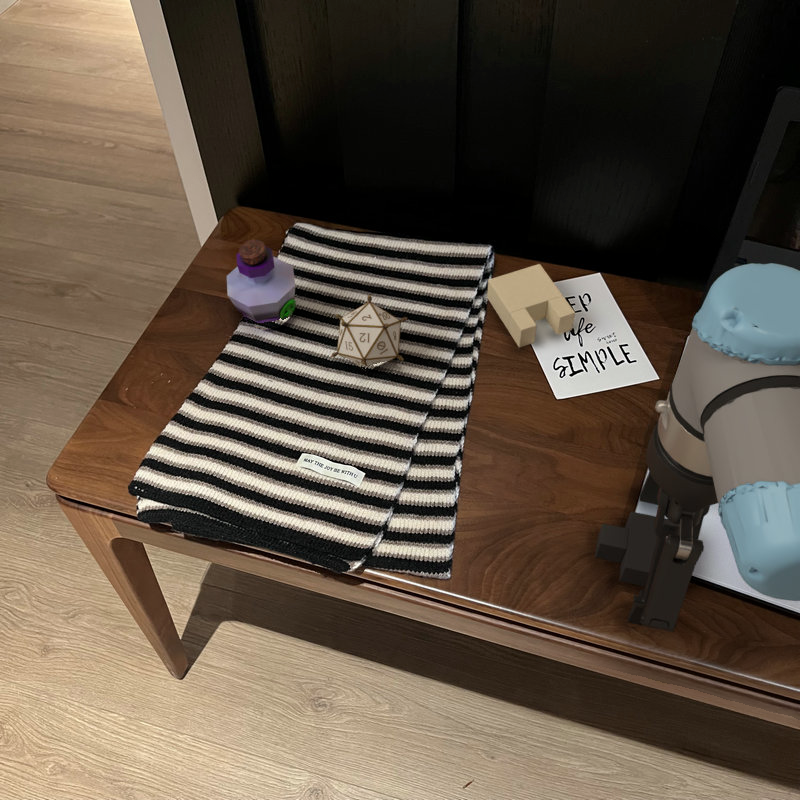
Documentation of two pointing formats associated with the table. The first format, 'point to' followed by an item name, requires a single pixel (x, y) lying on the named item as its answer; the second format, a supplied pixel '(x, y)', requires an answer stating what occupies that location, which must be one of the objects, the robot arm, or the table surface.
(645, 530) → the black pad
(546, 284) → the base pad
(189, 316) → the table surface
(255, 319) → the potion bottle
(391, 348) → the game die
